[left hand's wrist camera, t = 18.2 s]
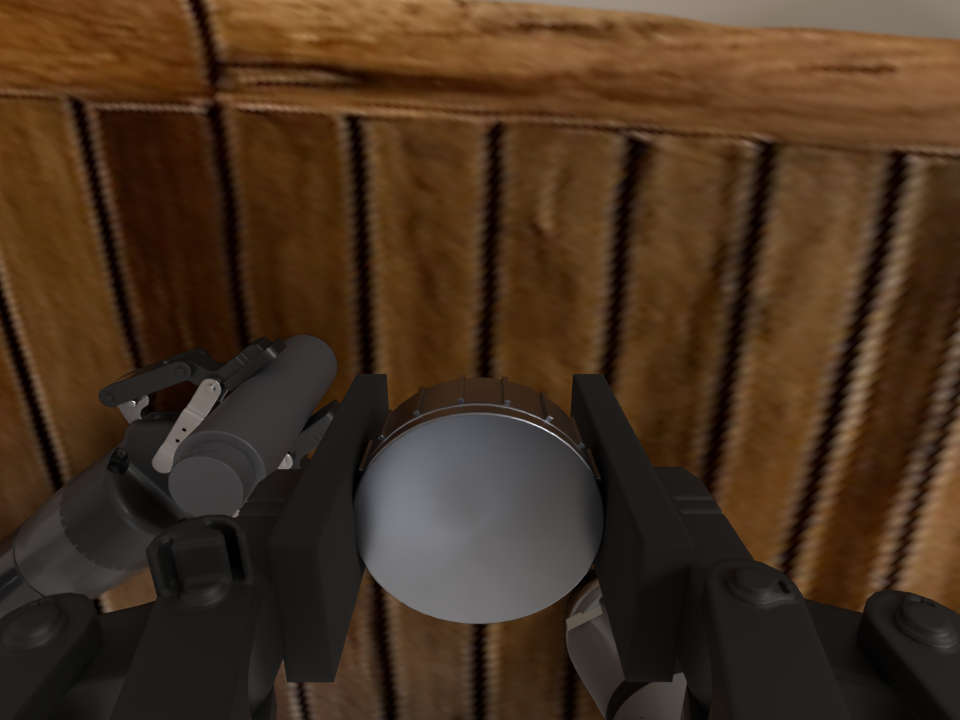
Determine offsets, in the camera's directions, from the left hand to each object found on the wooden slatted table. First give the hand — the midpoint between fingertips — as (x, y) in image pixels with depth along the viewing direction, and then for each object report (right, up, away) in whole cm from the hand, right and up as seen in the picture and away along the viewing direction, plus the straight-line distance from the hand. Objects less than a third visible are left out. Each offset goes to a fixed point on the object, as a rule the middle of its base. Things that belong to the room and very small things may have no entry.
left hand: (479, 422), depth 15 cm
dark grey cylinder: (-12, +1, +26) cm, 29 cm away
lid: (0, -1, -4) cm, 4 cm away
